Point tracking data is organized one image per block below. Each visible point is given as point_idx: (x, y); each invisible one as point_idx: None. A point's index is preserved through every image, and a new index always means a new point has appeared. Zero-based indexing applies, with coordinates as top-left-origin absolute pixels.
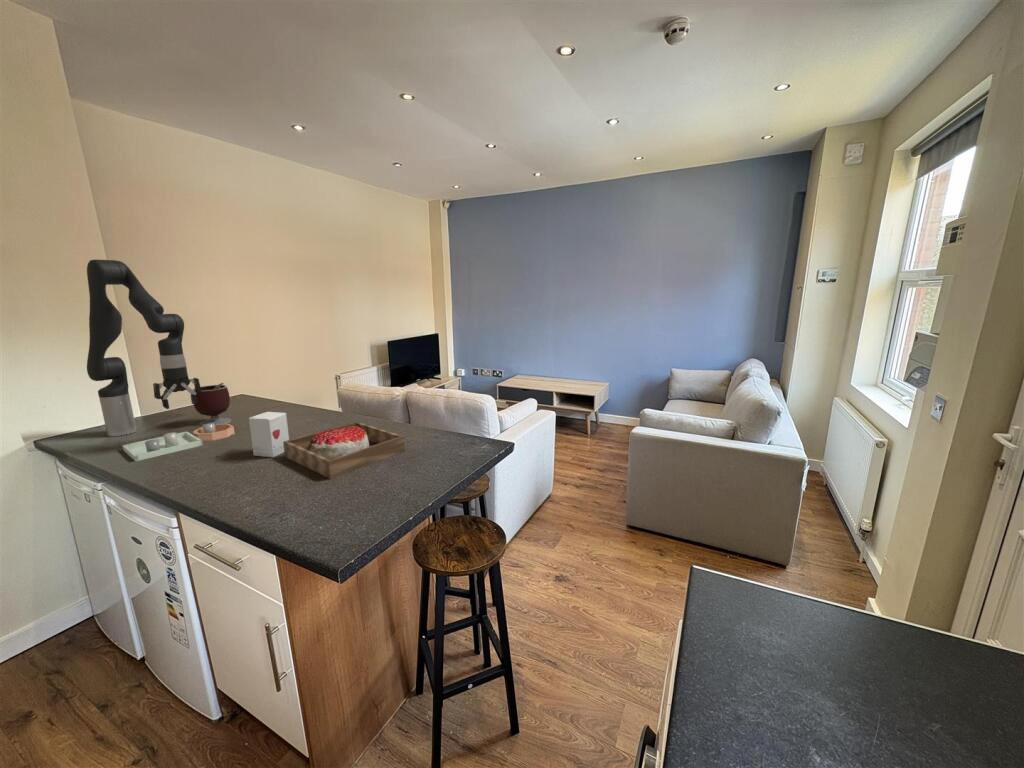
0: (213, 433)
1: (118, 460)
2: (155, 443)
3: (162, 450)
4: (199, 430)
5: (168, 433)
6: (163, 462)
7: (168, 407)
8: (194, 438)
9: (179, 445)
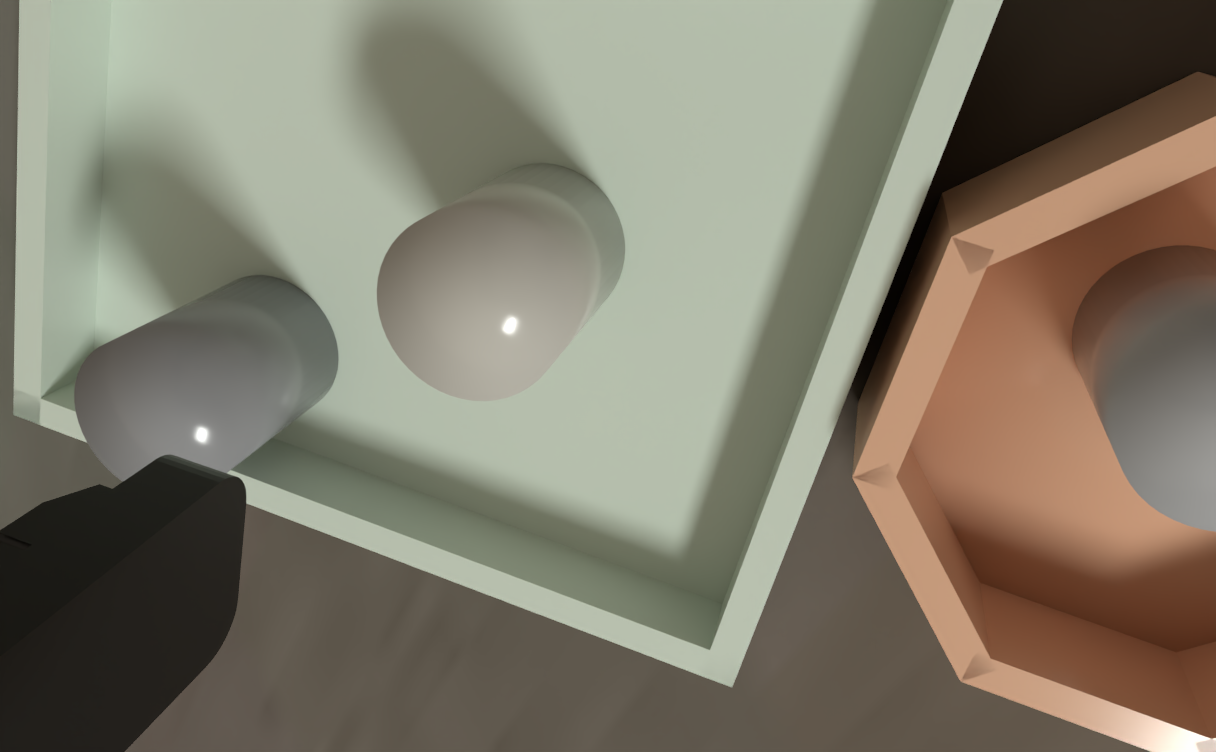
0: (985, 685)
1: (7, 16)
2: None
3: (282, 509)
4: (1121, 198)
5: (468, 257)
6: (262, 611)
7: (179, 665)
8: (779, 462)
9: (462, 580)
